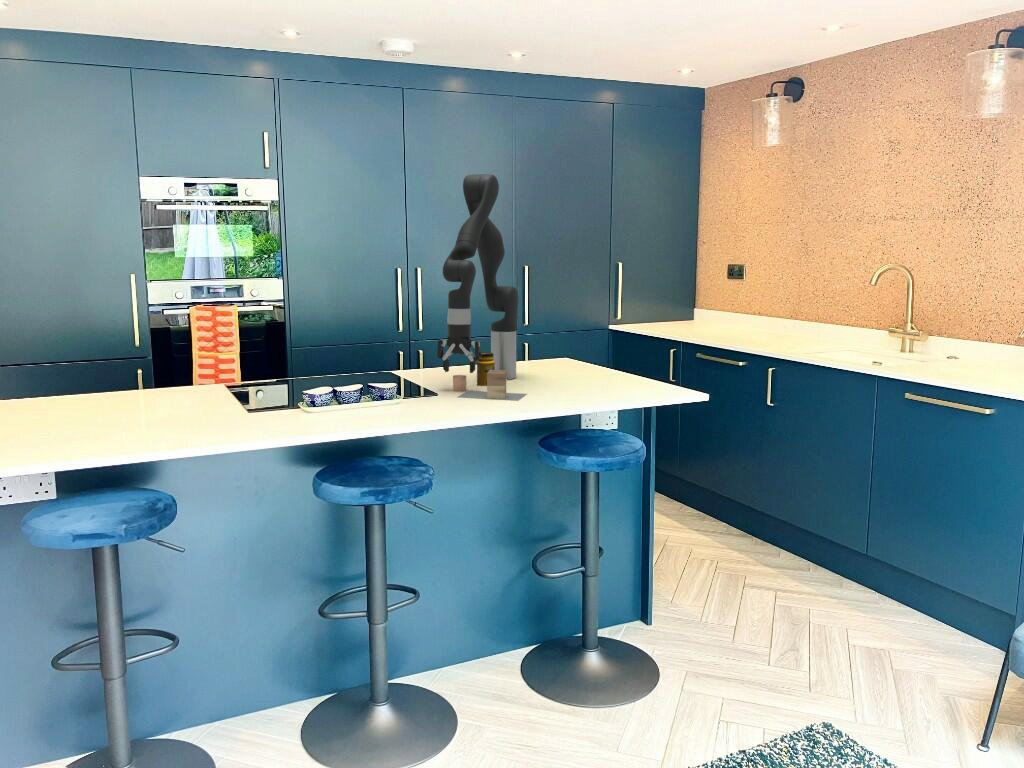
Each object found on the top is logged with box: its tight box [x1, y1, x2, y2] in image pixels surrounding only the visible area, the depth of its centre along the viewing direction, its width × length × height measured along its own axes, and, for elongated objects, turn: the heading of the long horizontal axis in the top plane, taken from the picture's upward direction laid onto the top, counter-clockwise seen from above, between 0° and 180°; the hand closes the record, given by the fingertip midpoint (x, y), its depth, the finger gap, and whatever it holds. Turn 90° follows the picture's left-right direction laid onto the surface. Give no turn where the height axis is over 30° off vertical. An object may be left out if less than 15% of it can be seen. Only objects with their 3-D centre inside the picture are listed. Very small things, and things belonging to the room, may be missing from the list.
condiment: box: [471, 351, 495, 387], centre depth 285 cm, size 7×8×12 cm
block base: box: [486, 384, 507, 400], centre depth 262 cm, size 6×6×4 cm
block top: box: [486, 370, 507, 387], centre depth 262 cm, size 6×6×4 cm
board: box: [457, 390, 528, 402], centre depth 265 cm, size 12×20×1 cm, turn 75°
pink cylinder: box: [452, 374, 467, 393], centre depth 274 cm, size 4×4×6 cm
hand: (459, 372), depth 273 cm, fingers open, 8 cm apart
